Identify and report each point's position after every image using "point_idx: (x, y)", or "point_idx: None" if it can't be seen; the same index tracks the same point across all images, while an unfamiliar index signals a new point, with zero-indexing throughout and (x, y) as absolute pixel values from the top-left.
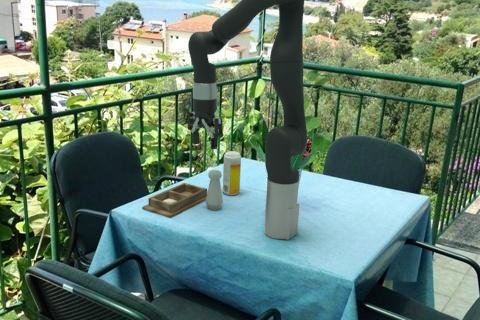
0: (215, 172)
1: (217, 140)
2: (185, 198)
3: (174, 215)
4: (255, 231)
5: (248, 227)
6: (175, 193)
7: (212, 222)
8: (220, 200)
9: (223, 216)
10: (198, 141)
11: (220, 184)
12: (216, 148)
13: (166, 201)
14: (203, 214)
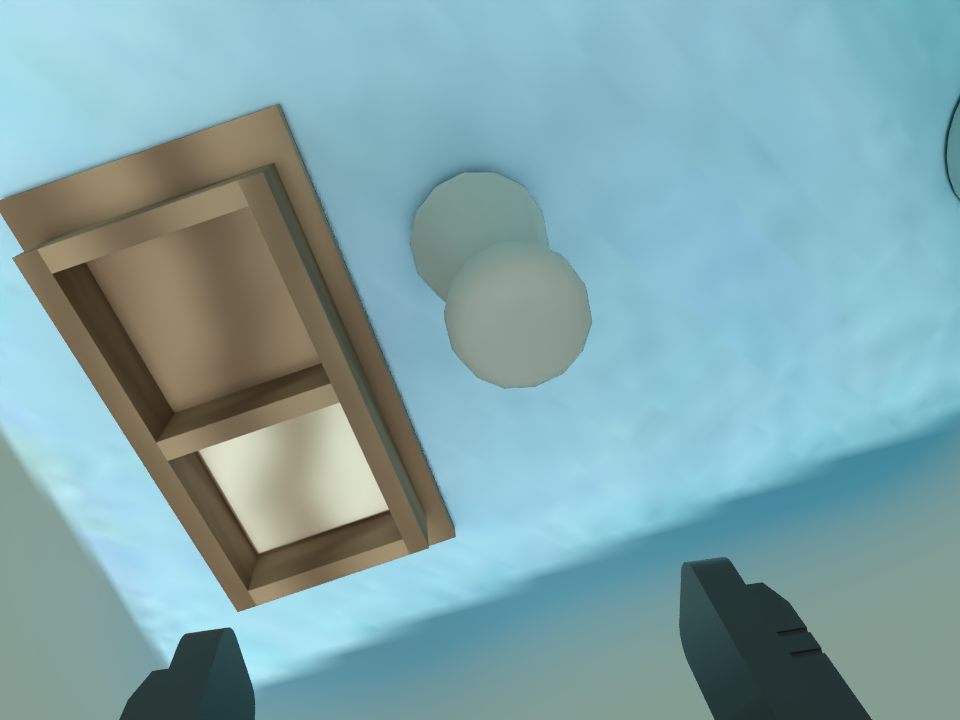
0: (561, 350)
1: (854, 702)
2: (368, 429)
3: (442, 502)
4: (908, 235)
5: (846, 234)
6: (234, 437)
7: (648, 370)
8: (545, 231)
9: (627, 263)
10: (224, 671)
11: (536, 238)
12: (722, 561)
13: (240, 470)
14: None
